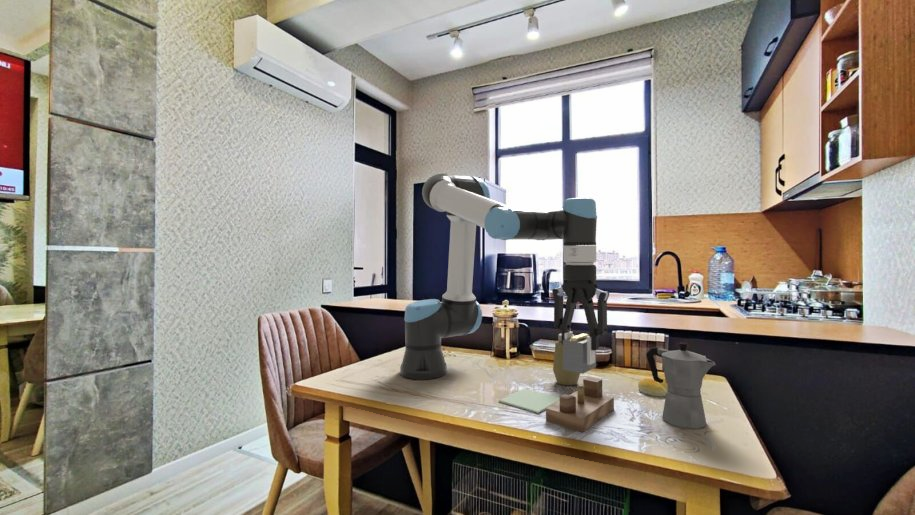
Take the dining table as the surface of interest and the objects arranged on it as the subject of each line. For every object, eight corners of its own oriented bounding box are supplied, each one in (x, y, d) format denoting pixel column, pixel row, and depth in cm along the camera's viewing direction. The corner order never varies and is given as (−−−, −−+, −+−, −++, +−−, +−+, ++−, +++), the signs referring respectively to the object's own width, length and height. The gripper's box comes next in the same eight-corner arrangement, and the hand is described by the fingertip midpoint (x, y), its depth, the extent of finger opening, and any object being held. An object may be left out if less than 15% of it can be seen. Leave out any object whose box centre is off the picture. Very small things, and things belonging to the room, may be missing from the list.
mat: (498, 401, 107) (498, 399, 107) (524, 389, 116) (524, 388, 116) (538, 413, 99) (538, 411, 99) (563, 400, 107) (563, 398, 107)
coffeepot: (724, 425, 91) (724, 344, 90) (704, 436, 85) (704, 351, 85) (657, 404, 103) (656, 333, 103) (636, 413, 98) (635, 338, 98)
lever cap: (562, 369, 97) (562, 336, 97) (576, 363, 102) (576, 332, 102) (582, 373, 93) (582, 339, 93) (596, 367, 98) (596, 334, 98)
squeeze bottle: (582, 387, 117) (581, 325, 116) (553, 386, 118) (552, 324, 118) (579, 379, 124) (579, 320, 124) (552, 377, 126) (552, 319, 126)
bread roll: (632, 388, 116) (632, 374, 116) (661, 386, 117) (660, 372, 117) (650, 399, 108) (650, 384, 108) (681, 396, 109) (681, 381, 109)
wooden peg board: (582, 432, 88) (582, 400, 88) (545, 421, 94) (545, 390, 94) (614, 409, 101) (613, 381, 101) (579, 400, 107) (579, 374, 107)
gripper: (538, 263, 100) (538, 357, 101) (610, 265, 88) (610, 372, 89) (553, 262, 106) (553, 351, 106) (624, 264, 94) (623, 364, 94)
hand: (579, 360), depth 98 cm, fingers closed on lever cap, 5 cm apart
